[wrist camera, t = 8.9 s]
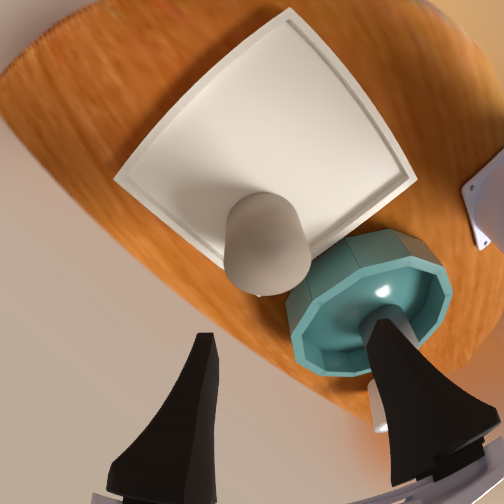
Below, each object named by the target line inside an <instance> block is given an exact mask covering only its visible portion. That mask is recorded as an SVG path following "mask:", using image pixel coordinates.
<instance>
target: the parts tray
mask: <svg viewBox="0 0 504 504" xmlns="http://www.w3.org/2000/svg"><path fill="white" fill-rule="evenodd" d="M113 180H114V181H115V182H117V183H118V184H119V185H120V186H121V187H122V188H124V189H125V190H126V191H127V192H128V193H130V194H131V195H132V196H133V197H134V198H135V199H137V200H138V201H139V202H140V203H141V204H143V205H144V206H145V207H146V208H147V209H149V210H150V211H151V212H152V213H153V214H155V215H156V216H157V217H158V218H159V219H161V220H162V221H163V222H164V223H166V224H167V225H168V226H169V227H170V228H172V229H173V230H174V231H175V232H177V233H178V234H179V235H180V236H181V237H183V238H184V239H185V240H186V241H188V242H189V243H190V244H191V245H193V246H194V247H195V248H196V249H198V250H199V251H200V252H201V253H203V254H204V255H205V256H206V257H208V258H209V259H210V260H211V261H213V262H214V263H215V264H217V265H218V266H219V267H220V268H222V269H223V270H224V264H223V261H224V248H225V237H226V226H227V218H228V215H229V213H230V211H231V209H232V208H233V206H234V205H235V204H236V203H237V202H238V201H239V200H241V199H242V198H244V197H246V196H248V195H250V194H254V193H260V192H268V193H274V194H277V195H280V196H282V197H284V198H285V199H286V200H288V201H289V202H290V203H291V204H292V205H293V207H294V208H295V210H296V212H297V215H298V217H299V220H300V223H301V225H302V228H303V231H304V234H305V236H306V239H307V242H308V245H309V248H310V251H311V260H313V259H314V258H316V257H317V256H318V255H320V254H321V253H323V252H324V251H325V250H327V249H328V248H329V247H331V246H332V245H333V244H335V243H336V242H338V241H339V240H340V239H342V238H343V237H344V236H346V235H347V234H348V233H350V232H351V231H352V230H354V229H355V228H356V227H358V226H359V225H360V224H362V223H363V222H364V221H366V220H367V219H368V218H370V217H371V216H372V215H373V214H375V213H376V212H377V211H379V210H380V209H381V208H383V207H384V206H385V205H386V204H388V203H389V202H390V201H391V200H393V199H394V198H395V197H397V196H398V195H399V194H400V193H402V192H403V191H404V190H405V189H407V188H408V187H409V186H410V185H412V184H413V183H414V182H415V181H417V180H418V179H417V177H416V175H415V173H414V171H413V169H412V167H411V165H410V164H409V162H408V160H407V158H406V156H405V154H404V153H403V151H402V149H401V147H400V146H399V144H398V142H397V141H396V139H395V137H394V136H393V134H392V132H391V131H390V129H389V127H388V126H387V124H386V123H385V121H384V120H383V118H382V116H381V115H380V113H379V112H378V110H377V109H376V107H375V106H374V104H373V103H372V102H371V100H370V99H369V97H368V96H367V94H366V93H365V92H364V90H363V89H362V88H361V86H360V85H359V84H358V82H357V81H356V80H355V78H354V77H353V76H352V74H351V73H350V72H349V71H348V69H347V68H346V67H345V66H344V64H343V63H342V62H341V61H340V59H339V58H338V57H337V56H336V55H335V54H334V52H333V51H332V50H331V49H330V48H329V47H328V45H327V44H326V43H325V42H324V41H323V40H322V39H321V38H320V37H319V36H318V34H317V33H316V32H315V31H314V30H313V29H312V28H311V27H310V26H309V25H308V24H307V23H306V22H305V21H304V20H303V19H302V18H301V17H300V16H299V15H298V14H297V13H296V12H295V11H294V10H293V9H292V8H291V7H289V8H288V9H286V10H285V11H283V12H282V13H280V14H279V15H277V16H276V17H274V18H273V19H272V20H270V21H269V22H267V23H266V24H265V25H263V26H262V27H261V28H259V29H258V30H257V31H255V32H254V33H253V34H251V35H250V36H249V37H248V38H246V39H245V40H244V41H243V42H241V43H240V44H239V45H238V46H237V47H235V48H234V49H233V50H232V51H231V52H229V53H228V54H227V55H226V56H225V57H224V58H222V59H221V60H220V61H219V62H218V63H217V64H216V65H215V66H213V67H212V68H211V69H210V70H209V71H208V72H207V73H206V74H205V75H204V76H203V77H202V78H201V79H199V80H198V81H197V82H196V83H195V84H194V85H193V86H192V87H191V88H190V89H189V90H188V91H187V92H186V93H185V94H184V95H183V96H182V97H181V98H180V99H179V101H178V102H177V103H176V104H175V105H174V106H173V107H172V108H171V109H170V110H169V111H168V112H167V113H166V114H165V116H164V117H163V118H162V119H161V120H160V121H159V122H158V123H157V125H156V126H155V127H154V128H153V129H152V130H151V131H150V133H149V134H148V135H147V136H146V137H145V139H144V140H143V141H142V142H141V143H140V145H139V146H138V147H137V148H136V150H135V151H134V152H133V153H132V155H131V156H130V157H129V159H128V160H127V161H126V162H125V164H124V165H123V166H122V168H121V169H120V170H119V172H118V173H117V174H116V176H115V177H114V179H113ZM224 271H225V270H224ZM256 296H258V297H260V296H259V295H256Z"/></svg>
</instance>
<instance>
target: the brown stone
mask: <svg viewBox="0 0 504 504" xmlns="http://www.w3.org/2000/svg"><path fill="white" fill-rule="evenodd" d="M223 264H224V270H225V273H226V275H227V277H228V278H229V280H230V281H231V282H232V283H233V284H234V285H235V286H236V287H237V288H239V289H240V290H242V291H244V292H247V293H249V294H253V295H259V296H271V295H277V294H281V293H284V292H286V291H288V290H290V289H292V288H294V287H295V286H297V285H298V284H299V283H300V282H301V281H302V280H303V279H304V278H305V276H306V275H307V273H308V271H309V269H310V265H311V251H310V248H309V245H308V242H307V239H306V236H305V234H304V231H303V228H302V225H301V223H300V220H299V217H298V215H297V212H296V210H295V208H294V207H293V205H292V204H291V203H290V202H289V201H288V200H286V199H285V198H284V197H282V196H280V195H277V194H274V193H268V192H260V193H254V194H250V195H248V196H246V197H244V198H242V199H241V200H239V201H238V202H237V203H236V204H235V205H234V206H233V208H232V209H231V211H230V213H229V215H228V218H227V226H226V237H225V248H224V261H223Z"/></svg>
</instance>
